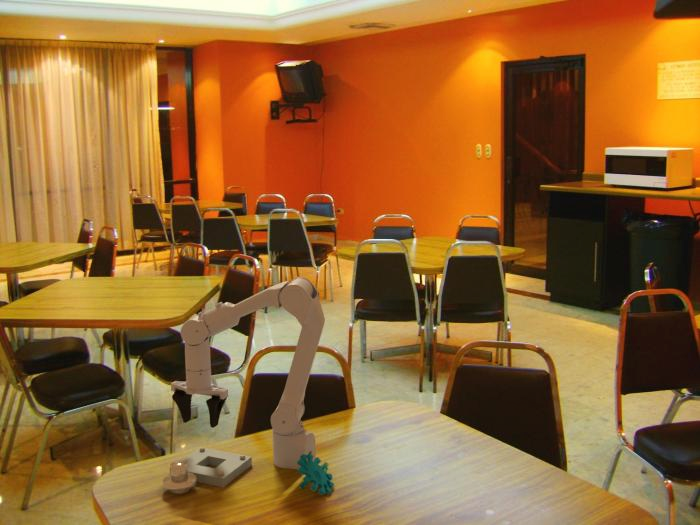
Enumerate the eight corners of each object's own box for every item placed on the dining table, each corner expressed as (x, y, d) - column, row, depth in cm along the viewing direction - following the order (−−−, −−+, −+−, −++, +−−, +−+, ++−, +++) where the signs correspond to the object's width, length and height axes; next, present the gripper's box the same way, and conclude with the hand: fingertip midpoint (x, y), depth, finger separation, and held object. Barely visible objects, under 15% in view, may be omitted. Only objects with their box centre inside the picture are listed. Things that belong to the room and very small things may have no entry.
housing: (252, 468, 175) (251, 454, 175) (223, 491, 164) (223, 476, 164) (201, 458, 181) (200, 444, 180) (170, 480, 170) (169, 465, 169)
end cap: (203, 488, 165) (202, 460, 164) (184, 502, 159) (182, 473, 158) (176, 482, 168) (175, 454, 167) (156, 496, 162) (155, 467, 160)
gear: (322, 497, 158) (294, 458, 161) (303, 513, 160) (276, 474, 163) (344, 482, 168) (317, 445, 171) (326, 497, 170) (300, 460, 173)
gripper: (161, 369, 175) (164, 425, 177) (215, 376, 169) (217, 434, 171) (180, 360, 181) (182, 414, 183) (232, 367, 175) (234, 423, 178)
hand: (200, 423), depth 178 cm, fingers open, 7 cm apart
